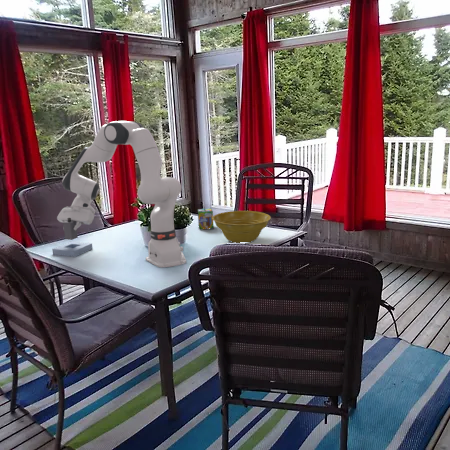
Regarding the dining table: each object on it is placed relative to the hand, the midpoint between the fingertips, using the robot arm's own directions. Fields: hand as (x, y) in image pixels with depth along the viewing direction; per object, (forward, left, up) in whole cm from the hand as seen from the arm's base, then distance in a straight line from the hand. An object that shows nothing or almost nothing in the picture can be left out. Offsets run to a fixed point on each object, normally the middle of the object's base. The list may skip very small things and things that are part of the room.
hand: (69, 229), depth 215 cm
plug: (+1, 0, -5) cm, 5 cm away
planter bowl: (-25, -87, -12) cm, 92 cm away
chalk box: (+11, -80, -12) cm, 82 cm away
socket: (0, -1, -12) cm, 12 cm away
